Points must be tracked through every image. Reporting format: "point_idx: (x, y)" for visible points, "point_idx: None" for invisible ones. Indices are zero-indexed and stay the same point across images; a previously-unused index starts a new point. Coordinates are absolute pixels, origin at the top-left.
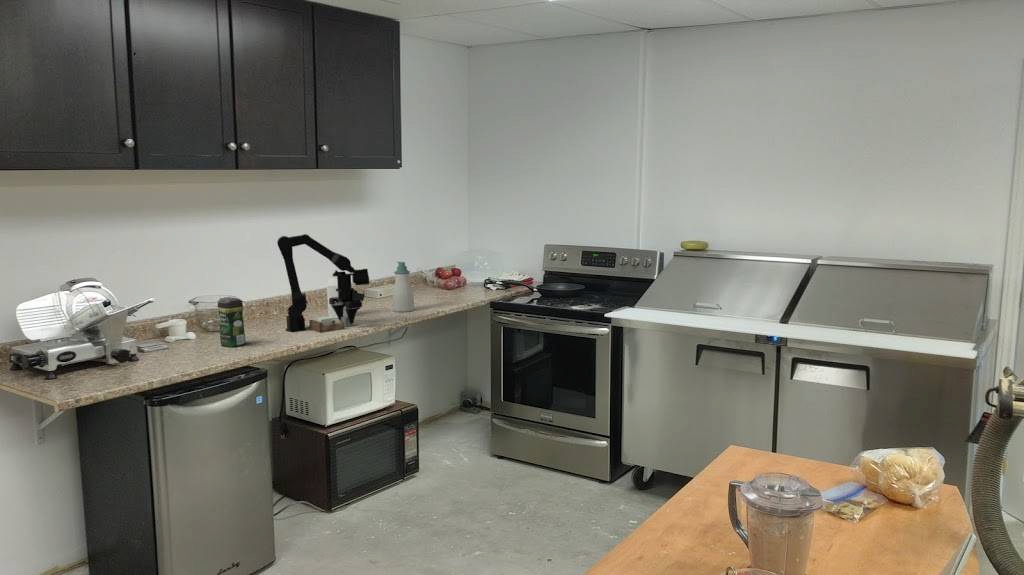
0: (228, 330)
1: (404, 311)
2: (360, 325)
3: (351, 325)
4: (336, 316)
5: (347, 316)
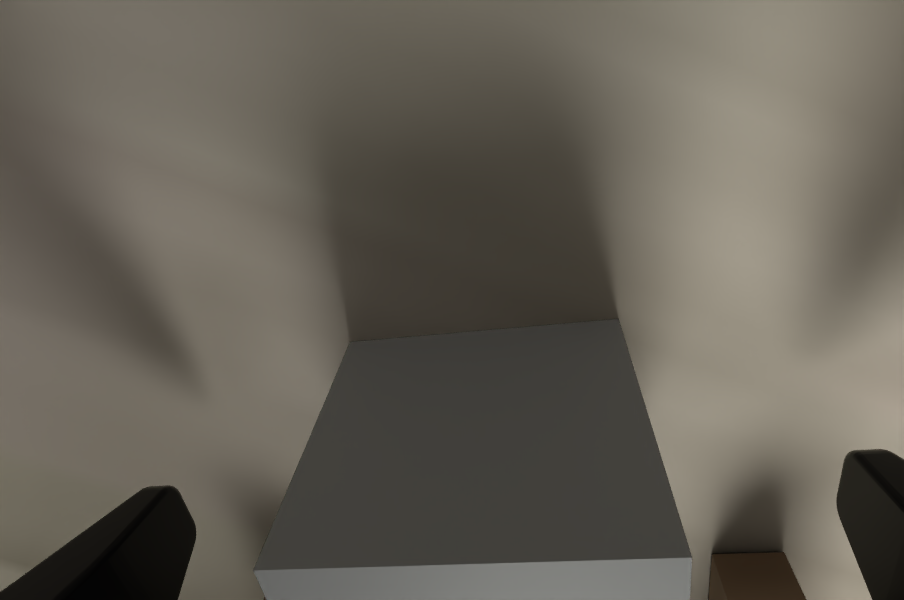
0: None
1: None
2: (665, 41)
3: (625, 356)
4: None
5: (362, 594)
